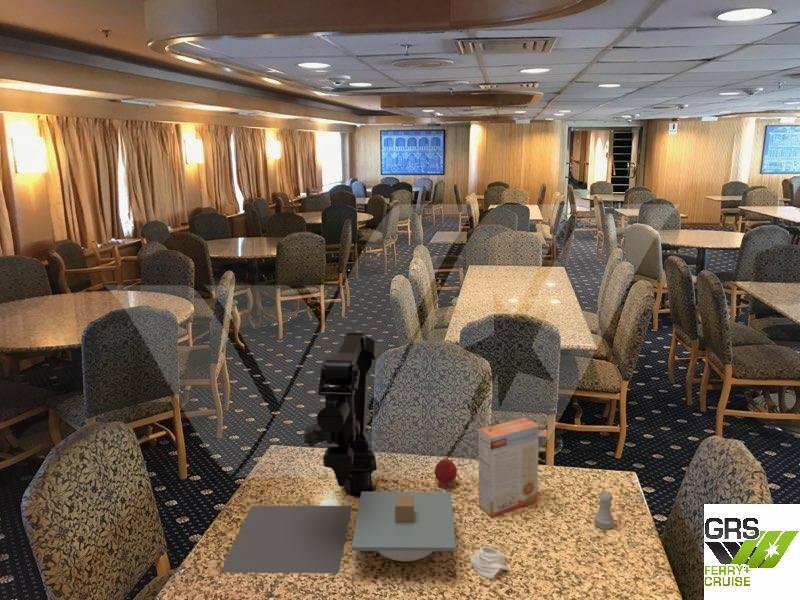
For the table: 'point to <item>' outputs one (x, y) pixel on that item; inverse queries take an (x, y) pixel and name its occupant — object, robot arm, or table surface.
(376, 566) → the table surface
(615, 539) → the table surface
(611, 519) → the grey chess piece
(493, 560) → the whipped cream
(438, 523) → the lid
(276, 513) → the mat
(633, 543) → the table surface
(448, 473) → the onion
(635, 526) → the table surface
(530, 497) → the cracker box
